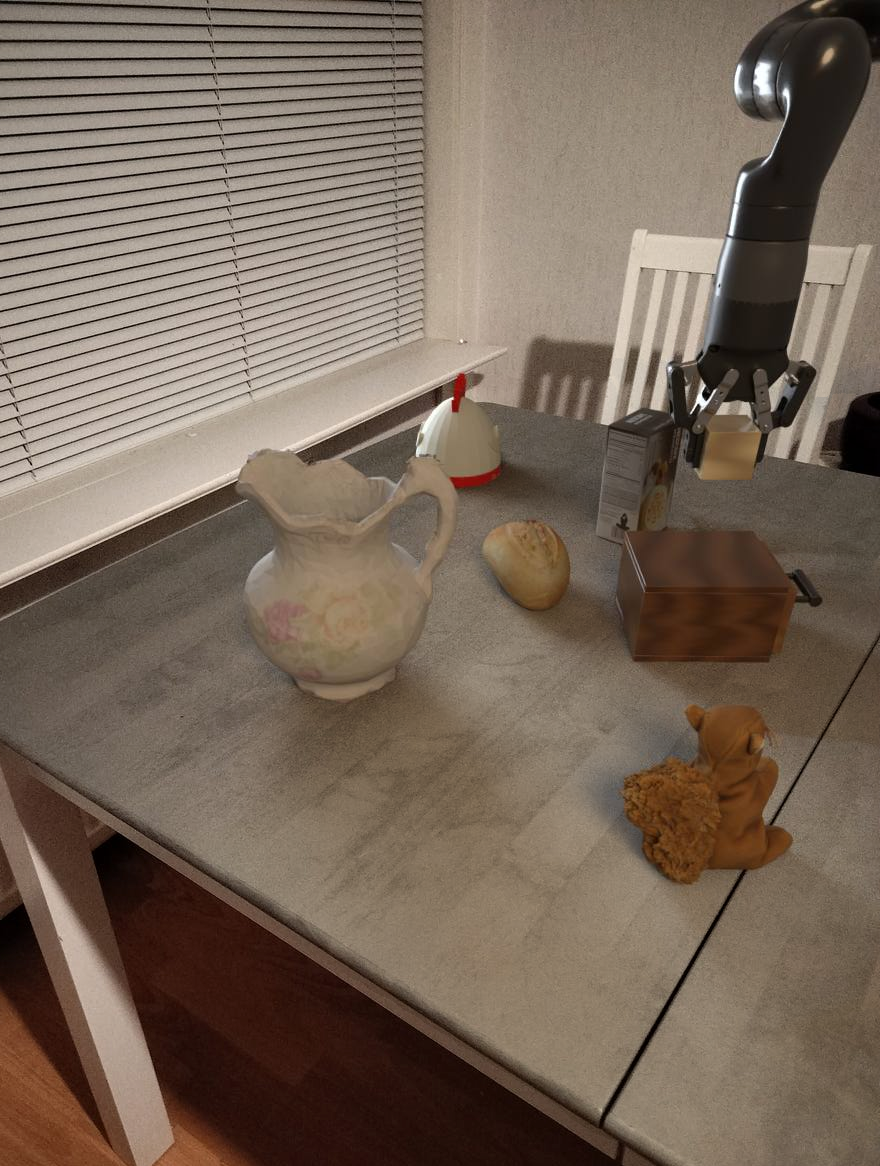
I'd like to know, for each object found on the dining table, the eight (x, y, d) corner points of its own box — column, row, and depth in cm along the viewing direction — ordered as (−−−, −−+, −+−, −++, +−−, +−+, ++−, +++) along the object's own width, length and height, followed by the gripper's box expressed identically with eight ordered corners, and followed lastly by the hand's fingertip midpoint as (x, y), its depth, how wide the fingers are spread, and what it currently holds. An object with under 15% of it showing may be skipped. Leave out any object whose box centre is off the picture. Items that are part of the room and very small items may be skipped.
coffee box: (627, 513, 124) (643, 405, 114) (668, 526, 120) (687, 415, 111) (593, 536, 118) (607, 423, 109) (634, 550, 114) (652, 435, 105)
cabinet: (736, 601, 103) (753, 530, 98) (769, 662, 93) (790, 586, 87) (614, 601, 104) (624, 530, 98) (633, 661, 93) (645, 585, 88)
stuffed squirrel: (798, 845, 71) (840, 723, 64) (687, 929, 65) (720, 804, 57) (700, 778, 78) (728, 661, 71) (591, 848, 71) (609, 727, 64)
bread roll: (532, 552, 114) (536, 497, 110) (587, 607, 103) (594, 549, 98) (466, 564, 112) (467, 509, 108) (514, 622, 100) (518, 563, 96)
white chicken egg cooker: (505, 456, 142) (510, 366, 134) (494, 490, 131) (498, 394, 123) (424, 450, 145) (423, 362, 137) (406, 483, 134) (404, 389, 126)
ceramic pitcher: (434, 621, 103) (429, 416, 90) (473, 711, 86) (473, 474, 74) (253, 642, 100) (223, 433, 88) (257, 739, 83) (221, 498, 71)
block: (737, 460, 89) (747, 414, 86) (751, 480, 85) (762, 432, 82) (688, 460, 90) (697, 414, 87) (700, 480, 85) (709, 432, 83)
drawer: (785, 598, 102) (801, 540, 97) (820, 653, 92) (839, 591, 88) (635, 597, 103) (644, 539, 98) (654, 651, 93) (665, 590, 89)
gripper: (685, 300, 75) (657, 480, 84) (853, 298, 74) (805, 480, 84) (667, 281, 81) (642, 451, 90) (821, 279, 80) (780, 451, 90)
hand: (720, 464), depth 87 cm, fingers closed on block, 5 cm apart
